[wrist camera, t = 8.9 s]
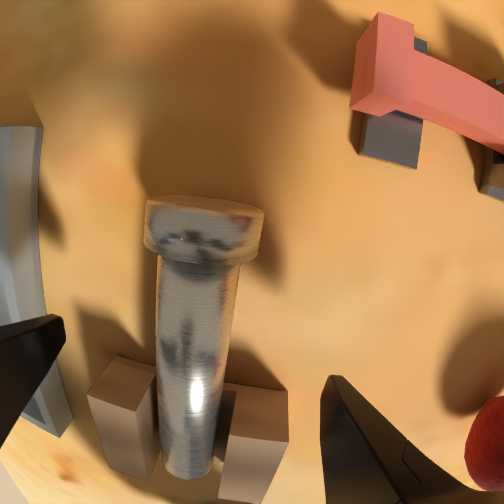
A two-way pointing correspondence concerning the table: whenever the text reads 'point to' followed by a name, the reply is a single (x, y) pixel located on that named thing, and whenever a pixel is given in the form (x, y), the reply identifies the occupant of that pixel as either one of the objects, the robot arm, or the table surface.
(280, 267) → the table surface
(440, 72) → the keeper bar
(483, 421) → the onion
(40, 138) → the tray
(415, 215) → the table surface
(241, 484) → the channel block
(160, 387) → the pin
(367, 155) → the keeper guide
